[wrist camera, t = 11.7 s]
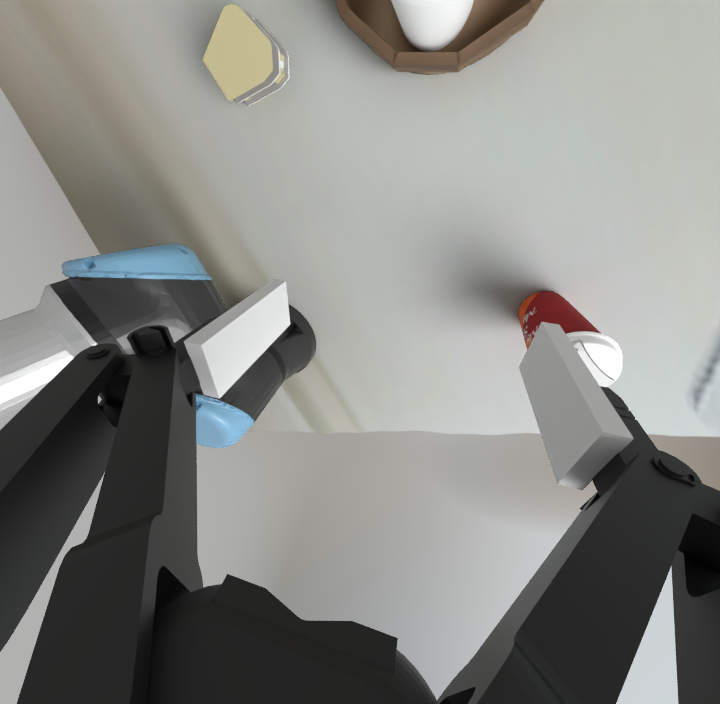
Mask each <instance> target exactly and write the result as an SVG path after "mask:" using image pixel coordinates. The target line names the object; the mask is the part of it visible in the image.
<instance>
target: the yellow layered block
mask: <svg viewBox="0 0 720 704" xmlns="http://www.w3.org/2000/svg"><path fill="white" fill-rule="evenodd" d="M203 62H204V63H205V65H206V66H207V68H208V70H209V71H210V73H211V74H212V76H213V77H214V79H215V80H216V82H217V83H218V85H219V86H220V88H221V90H222V91H223V93H224V94H225V96H226V97H227V99H228V100H229V101H231V100H233V99H234V100H235V102H236V103H240V102H242V101H244V102H245V103H246V105H247V106H250V105H252V104H254V103H257V102H258V101H259V100H261V99H263V98H265V97H267V96H269V95H270V94H272V93H274V92H276V91H278V90H279V89H281V88H282V87H283V86H284V85H285V83H286V82H287V81H288V80H289V78H290V73H289V55H288V53H287V51H286V50H285V49H284V48H283V47H282V45H281V44H280V43H279V42H278V41H277V40H276V39H275V38H274V37H273V35H272V34H271V33H270V32H269V31H268V30H267V29H266V28H265V26H264V25H263V24H262V23H261V22H259V21H258V20H256V19H253V18H252V17H251V15H249V14H248V13H247V12H245V11H243V10H242V9H241V8H240V7H238V6H237V5H234V4H229V5H227V6H225V7H224V9H223V10H222V12H221V15H220V17H219V20H218V22H217V25H216V27H215V29H214V32H213V34H212V37H211V39H210V42H209V44H208V47H207V49H206V52H205V54H204V57H203Z"/></svg>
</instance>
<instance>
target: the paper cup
mask: <svg viewBox="0 0 720 704" xmlns="http://www.w3.org/2000/svg"><path fill="white" fill-rule="evenodd" d="M519 320H520V324H521V328H522V332H523V335H524V339H525V343H526V346H527V350H528V348H529V346H530V344H531V342H532V340H533V338H534V336H535V334H536V332H537V330H538V328H539V326H540V324H541V322H546V323H553V324H559V325H560V326H561V328H562V329H563V331H564V332H565V334H566V335H567V337H568V339H569V340H570V342H571V343H572V345H573V346H574V348H575V349H576V351H577V352H578V354H579V355H580V357H581V358H582V360H583V361H584V363H585V365H586V366H587V368H588V369H589V371H590V372H591V374H592V375H593V377H594V378H595V380H596V381H597V383H598V384H599V386H602V387H608V386H609V385H611V384H612V383H613V382H614V381H615V380H617V378H618V377H619V375H620V373H621V370H622V351H621V349H620V347H619V345H618V344H617V343H616V342H615V341H614V340H613V339H611V338H610V337H608V336H606V335H603V334H601V333H600V332H599V331H598V330H597V329H596V328H595V327H594V326H593V325H592V324H591V323H590V322H589V321H588V320H587V319H586V318H585V317H583V316H582V315H581V314H580V313H579V312H578V311H577V310H576V309H575V308H574V307H573V306H572V305H571V304H570V303H569V302H568V301H566V300H565V299H564V298H563V297H562V296H560V295H559V294H557V293H555V292H551V291H542V292H537V293H534V294H532V295H530V296H529V297H527V298H526V299H525V300H524V301H523V302H522V304H521V305H520V308H519Z"/></svg>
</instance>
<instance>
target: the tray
mask: <svg viewBox="0 0 720 704" xmlns="http://www.w3.org/2000/svg"><path fill="white" fill-rule="evenodd" d="M543 1H544V0H474V1H473V5H472V9H471V12H470V14H469V16H468V19H467V21H466V23H465V25H464V26H463V28H462V30H461V31H460V33H459V34H458V35H457V36H456V37H455V39H454V40H453V41H452V42H451V43H449V44H448V45H447V46H445V47H444V48H442V49H440V50H437V51H433V52H425V51H421V50H419V49H417V48H415V47H414V46H413V45H412V44H411V43H410V42H409V41H408V39H407V38H406V36H405V34H404V32H403V29H402V27H401V24H400V22H399V19H398V17H397V14H396V12H395V9H394V7H393V4H392V1H391V0H335V2H336V5H337V8H338V10H339V13H340V16H341V18H342V19H343V21H344V22H345V23H346V25H347V26H348V27H349V28H350V29H351V30H352V31H353V32H354V33H355V34H356V35H358V36H359V37H360V38H361V39H362V40H363V41H364V42H365V43H366V44H367V45H368V46H369V47H370V48H371V49H372V50H373V51H374V52H375V53H376V54H377V55H379V56H380V57H381V58H383V59H384V60H385V61H386V62H387V63H388V64H390V65H391V66H392V67H393V68H394V69H395V70H396V71H406V72H412V73H417V74H426V75H430V74H443V73H447V72H459V71H460V70H462V69H463V68H465V67H466V66H468V65H471V64H473V63H475V62H476V61H478V60H480V59H482V58H483V57H485V56H487V55H488V54H490V53H491V52H493V51H494V50H495V49H497V48H498V47H499V46H500V45H502V44H503V43H504V42H506V41H507V40H508V39H509V38H510V37H511V36H513V35H514V34H516V33H517V32H519V31H520V30H522V29H523V28H524V27H526V26H527V25H528V23H529V22H530V21H531V19H532V18H533V16H534V15H535V13H536V12H537V10H538V9H539V7H540V6H541V4H542V3H543Z"/></svg>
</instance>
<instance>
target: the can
mask: <svg viewBox="0 0 720 704" xmlns="http://www.w3.org/2000/svg"><path fill="white" fill-rule="evenodd" d="M391 1H392V4H393V7H394V9H395V12H396V14H397V17H398V19H399V22H400V24H401V27H402V29H403V32H404V34H405V36H406V38H407V39H408V41H409V42H410V43H411V44H412V45H413V46H414V47H415V48H417V49H419V50H421V51H425V52H433V51H437V50H440V49H442V48H444V47H445V46H447V45H448V44H449V43H451V42H452V41H453V40H454V39H455V37H456V36H457V35H458V34H459V33H460V31H461V30H462V28H463V26H464V25H465V23H466V21H467V19H468V16H469V14H470V12H471V9H472V5H473V1H474V0H391Z"/></svg>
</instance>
